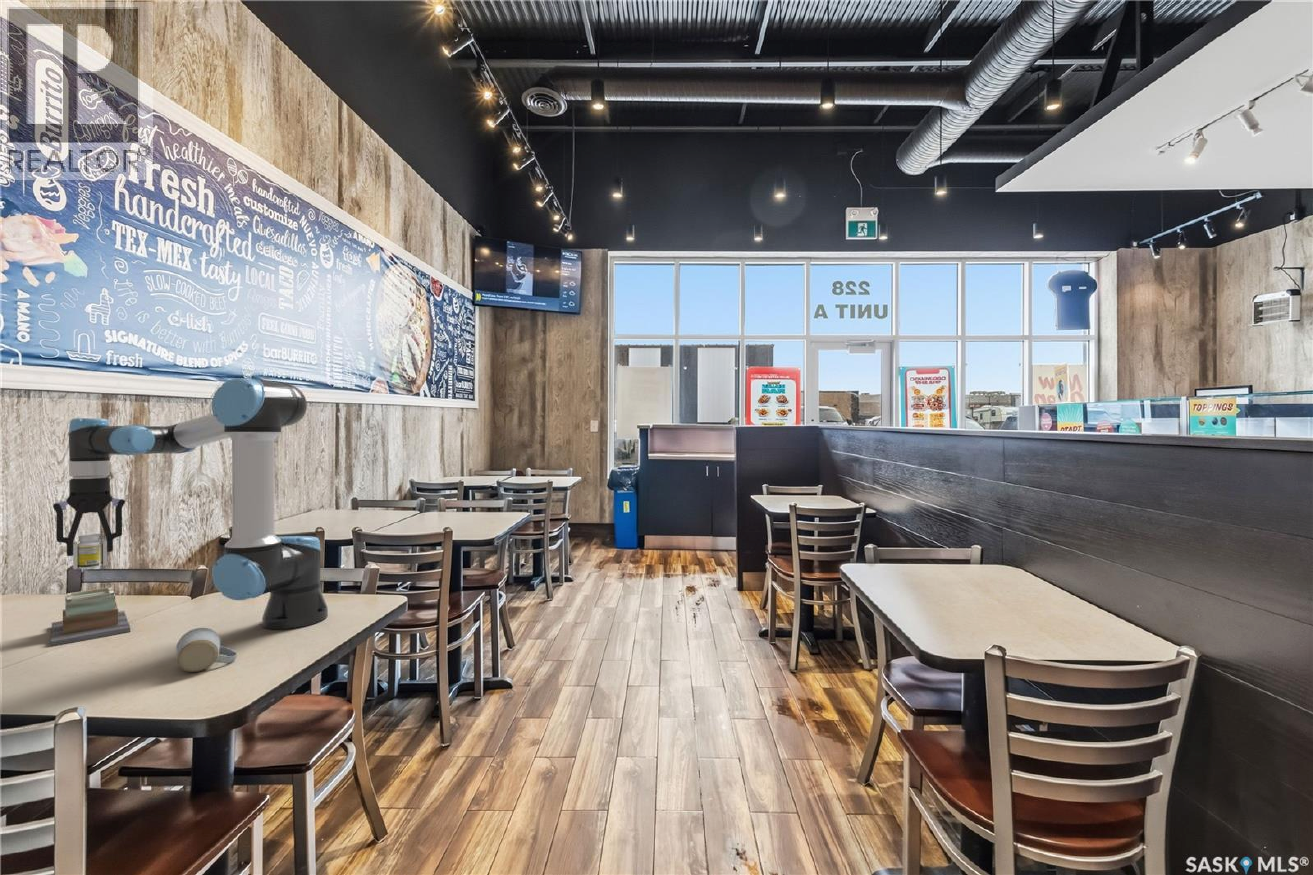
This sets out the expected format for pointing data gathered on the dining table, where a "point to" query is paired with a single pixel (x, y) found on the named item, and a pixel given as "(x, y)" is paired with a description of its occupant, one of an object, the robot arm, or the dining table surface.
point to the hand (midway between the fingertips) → (90, 566)
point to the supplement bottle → (90, 551)
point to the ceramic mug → (201, 650)
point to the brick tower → (89, 617)
